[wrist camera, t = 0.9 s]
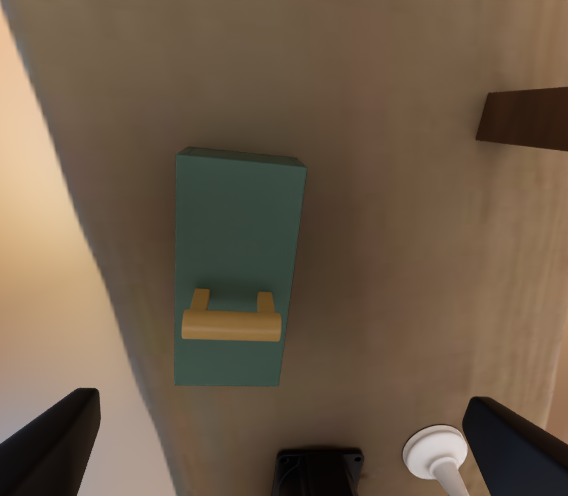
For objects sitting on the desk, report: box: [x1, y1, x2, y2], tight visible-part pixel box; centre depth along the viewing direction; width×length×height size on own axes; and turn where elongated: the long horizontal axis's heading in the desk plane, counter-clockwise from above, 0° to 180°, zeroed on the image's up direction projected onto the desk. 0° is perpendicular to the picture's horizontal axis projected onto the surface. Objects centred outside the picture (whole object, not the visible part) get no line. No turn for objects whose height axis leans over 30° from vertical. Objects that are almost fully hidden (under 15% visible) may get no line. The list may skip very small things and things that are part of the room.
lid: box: [174, 153, 307, 386], centre depth 16 cm, size 12×6×4 cm, turn 174°
